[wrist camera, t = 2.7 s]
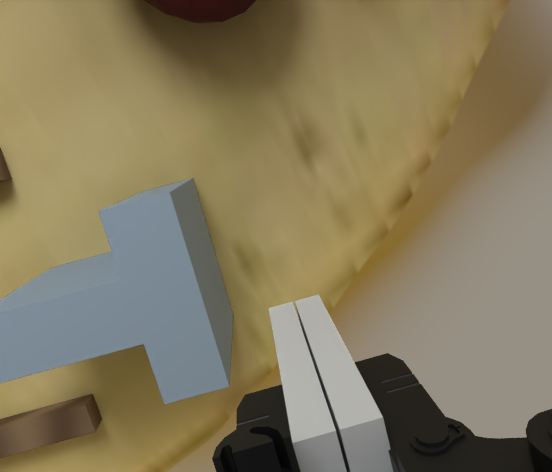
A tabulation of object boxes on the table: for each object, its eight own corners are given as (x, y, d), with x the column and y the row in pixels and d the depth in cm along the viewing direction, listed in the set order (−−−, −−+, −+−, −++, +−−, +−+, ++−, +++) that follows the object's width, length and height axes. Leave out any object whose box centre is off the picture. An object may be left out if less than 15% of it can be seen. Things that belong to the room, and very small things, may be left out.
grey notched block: (193, 178, 37) (169, 192, 25) (233, 315, 40) (229, 386, 28) (34, 220, 37) (-64, 254, 25) (84, 356, 39) (16, 445, 28)
